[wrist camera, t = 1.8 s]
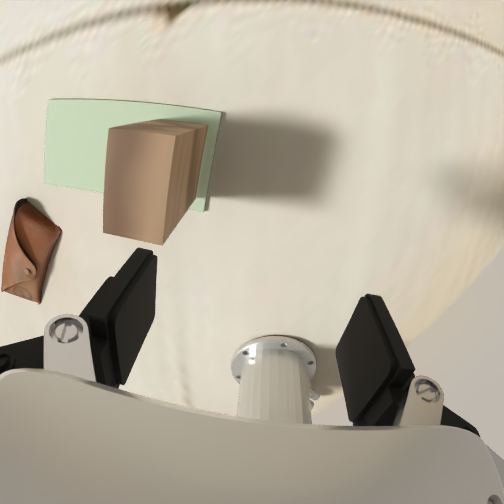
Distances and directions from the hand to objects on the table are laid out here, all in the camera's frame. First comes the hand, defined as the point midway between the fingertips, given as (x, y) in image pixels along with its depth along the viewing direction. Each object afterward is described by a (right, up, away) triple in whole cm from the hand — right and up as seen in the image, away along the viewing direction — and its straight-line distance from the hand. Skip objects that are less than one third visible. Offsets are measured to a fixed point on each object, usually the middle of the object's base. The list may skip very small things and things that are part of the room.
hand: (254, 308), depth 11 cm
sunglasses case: (-34, +2, +27) cm, 44 cm away
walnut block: (-8, +12, +20) cm, 24 cm away
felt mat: (-15, +14, +20) cm, 28 cm away
